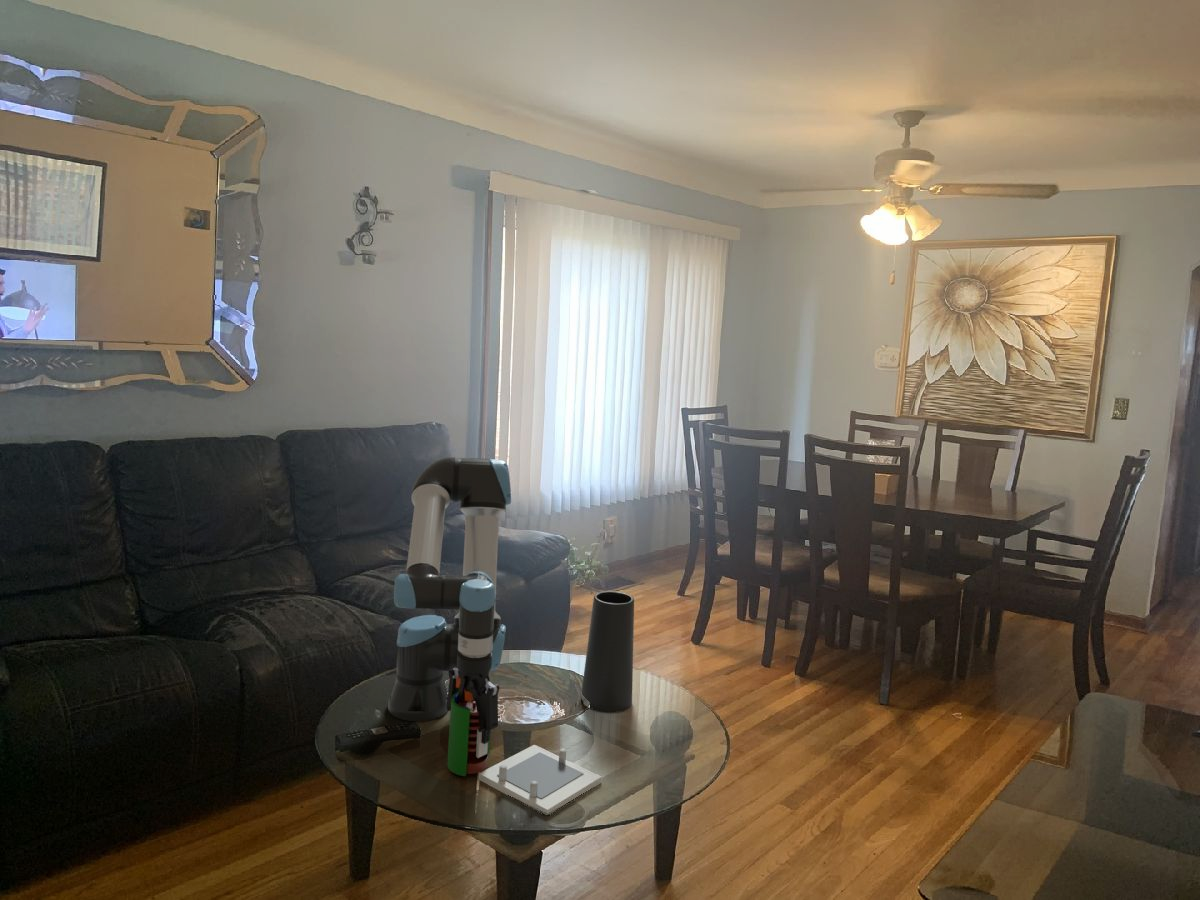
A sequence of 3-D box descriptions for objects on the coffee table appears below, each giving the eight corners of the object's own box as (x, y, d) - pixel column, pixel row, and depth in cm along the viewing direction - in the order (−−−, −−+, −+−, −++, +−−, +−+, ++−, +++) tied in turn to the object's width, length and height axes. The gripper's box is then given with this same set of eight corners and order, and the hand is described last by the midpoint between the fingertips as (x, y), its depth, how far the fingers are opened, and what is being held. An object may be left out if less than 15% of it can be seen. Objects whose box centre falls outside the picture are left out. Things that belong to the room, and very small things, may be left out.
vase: (632, 714, 230) (640, 608, 225) (579, 711, 230) (587, 604, 225) (631, 692, 243) (639, 590, 238) (581, 688, 243) (588, 587, 238)
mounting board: (478, 779, 194) (479, 760, 193) (534, 750, 208) (535, 732, 207) (547, 816, 182) (548, 796, 181) (601, 782, 196) (602, 764, 195)
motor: (479, 779, 192) (483, 693, 189) (440, 772, 194) (443, 686, 190) (494, 756, 202) (498, 673, 198) (457, 749, 204) (460, 667, 200)
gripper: (431, 642, 196) (428, 739, 200) (494, 670, 184) (489, 772, 188) (457, 633, 201) (452, 727, 206) (519, 660, 190) (513, 759, 194)
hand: (470, 748), depth 197 cm, fingers closed on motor, 6 cm apart
